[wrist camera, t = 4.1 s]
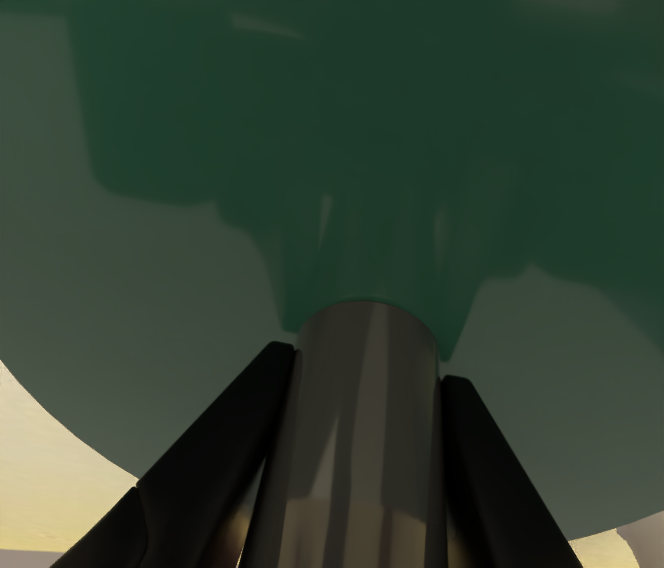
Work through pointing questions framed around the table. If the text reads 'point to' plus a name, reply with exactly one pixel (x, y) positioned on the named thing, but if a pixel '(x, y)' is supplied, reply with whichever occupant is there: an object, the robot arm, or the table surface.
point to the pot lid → (344, 246)
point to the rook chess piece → (646, 540)
